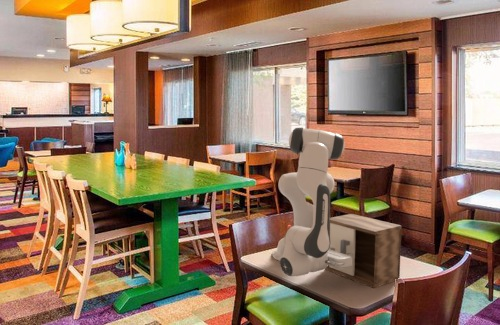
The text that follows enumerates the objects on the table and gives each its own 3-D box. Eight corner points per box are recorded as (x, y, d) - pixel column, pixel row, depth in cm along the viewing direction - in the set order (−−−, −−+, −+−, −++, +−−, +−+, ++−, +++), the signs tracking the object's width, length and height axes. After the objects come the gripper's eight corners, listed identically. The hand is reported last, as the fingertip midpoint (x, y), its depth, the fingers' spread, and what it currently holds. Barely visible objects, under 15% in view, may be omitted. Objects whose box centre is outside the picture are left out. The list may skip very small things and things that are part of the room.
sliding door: (345, 277, 189) (347, 230, 186) (322, 268, 199) (323, 224, 197) (354, 275, 191) (355, 228, 189) (330, 266, 202) (331, 222, 200)
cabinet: (373, 288, 182) (375, 231, 179) (324, 269, 203) (325, 218, 200) (399, 279, 191) (401, 225, 188) (350, 262, 212) (351, 213, 209)
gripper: (337, 257, 173) (363, 251, 181) (299, 244, 189) (324, 239, 197) (337, 274, 174) (362, 267, 182) (299, 260, 190) (324, 254, 198)
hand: (342, 252), depth 190 cm, fingers open, 8 cm apart
